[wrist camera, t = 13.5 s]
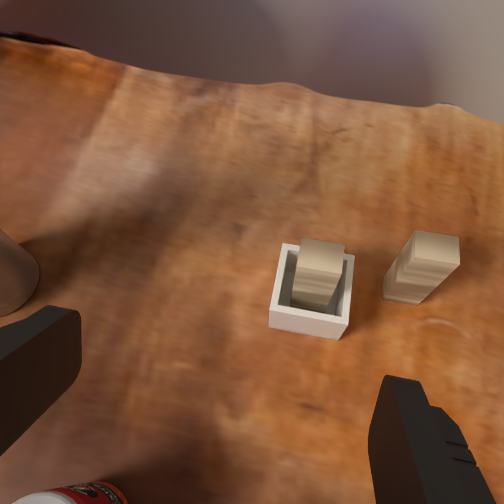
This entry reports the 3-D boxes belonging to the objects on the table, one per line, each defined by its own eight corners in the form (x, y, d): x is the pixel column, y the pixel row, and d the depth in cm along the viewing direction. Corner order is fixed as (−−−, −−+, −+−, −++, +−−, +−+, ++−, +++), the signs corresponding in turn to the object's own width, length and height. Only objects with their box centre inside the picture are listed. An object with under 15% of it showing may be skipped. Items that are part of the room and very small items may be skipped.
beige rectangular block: (417, 305, 44) (460, 264, 35) (382, 299, 45) (414, 257, 35) (417, 282, 46) (458, 236, 36) (383, 276, 46) (415, 229, 37)
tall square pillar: (324, 313, 43) (341, 273, 33) (289, 307, 44) (296, 266, 34) (326, 289, 44) (344, 244, 35) (293, 283, 45) (301, 237, 35)
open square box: (337, 340, 43) (348, 324, 37) (268, 327, 44) (269, 310, 38) (344, 277, 46) (354, 255, 41) (280, 266, 47) (282, 243, 42)
